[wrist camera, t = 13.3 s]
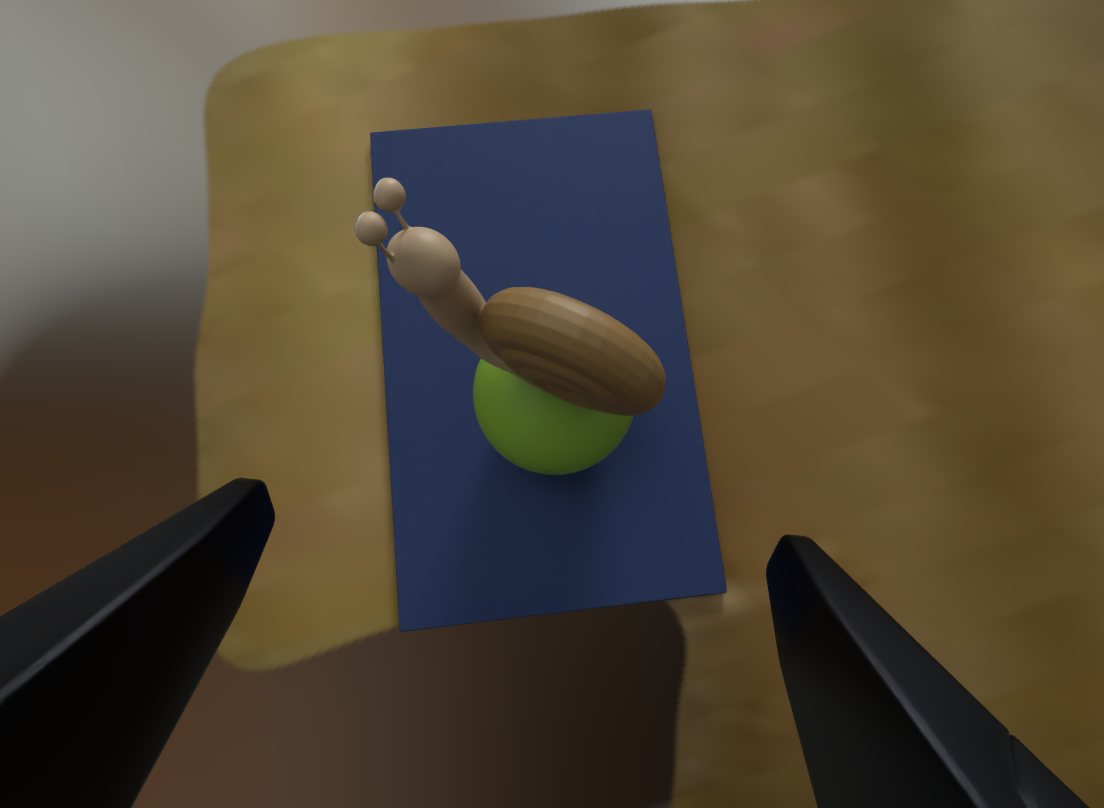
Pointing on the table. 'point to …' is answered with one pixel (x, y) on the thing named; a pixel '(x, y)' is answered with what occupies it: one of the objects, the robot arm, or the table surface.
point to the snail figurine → (526, 352)
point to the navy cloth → (449, 366)
